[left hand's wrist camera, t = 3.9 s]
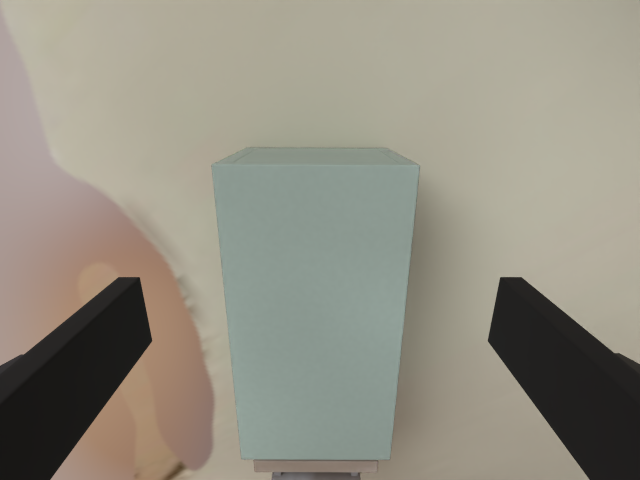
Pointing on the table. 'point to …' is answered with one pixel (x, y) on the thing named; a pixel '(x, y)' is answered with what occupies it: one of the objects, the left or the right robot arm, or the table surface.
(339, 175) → the cabinet
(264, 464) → the drawer
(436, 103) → the table surface
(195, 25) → the table surface
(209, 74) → the table surface
